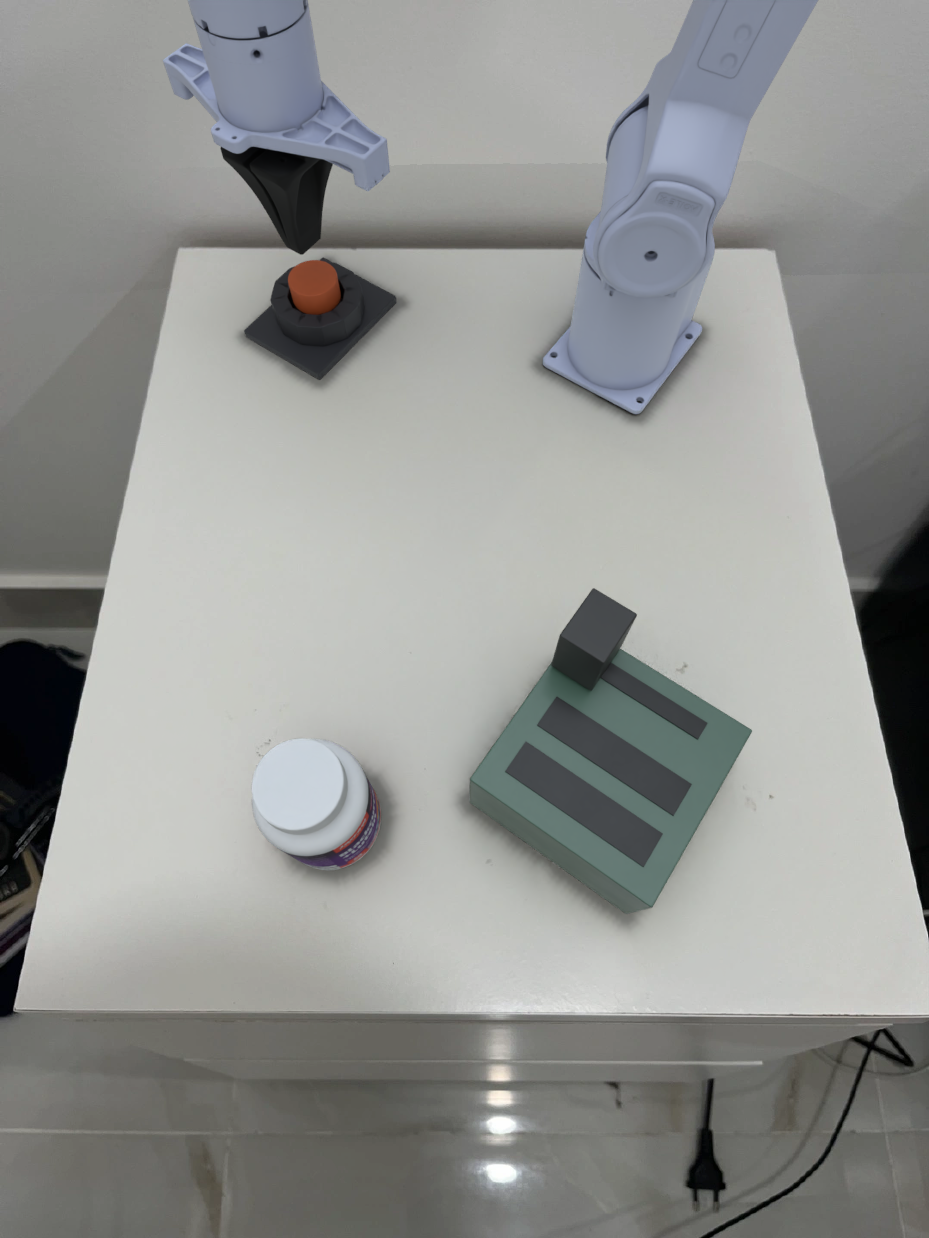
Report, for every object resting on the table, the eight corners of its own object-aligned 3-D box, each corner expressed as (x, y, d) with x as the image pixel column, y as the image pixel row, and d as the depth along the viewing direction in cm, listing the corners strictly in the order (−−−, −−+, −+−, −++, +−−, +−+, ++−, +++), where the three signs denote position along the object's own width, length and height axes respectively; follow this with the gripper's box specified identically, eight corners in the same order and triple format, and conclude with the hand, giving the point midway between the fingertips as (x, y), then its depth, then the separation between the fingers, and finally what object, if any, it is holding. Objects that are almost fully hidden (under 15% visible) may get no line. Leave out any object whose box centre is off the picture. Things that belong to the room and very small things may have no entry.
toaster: (565, 662, 45) (579, 621, 39) (716, 758, 43) (754, 729, 37) (468, 802, 42) (469, 778, 36) (626, 914, 39) (652, 908, 34)
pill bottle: (369, 880, 40) (340, 860, 31) (271, 859, 41) (216, 833, 32) (393, 780, 42) (373, 734, 33) (300, 761, 43) (256, 711, 34)
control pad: (324, 264, 58) (318, 236, 56) (397, 303, 57) (394, 276, 54) (245, 337, 55) (236, 311, 53) (319, 381, 54) (313, 355, 51)
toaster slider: (581, 621, 39) (593, 587, 36) (621, 645, 39) (637, 613, 35) (550, 665, 38) (559, 635, 35) (591, 691, 38) (604, 663, 34)
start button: (313, 273, 55) (309, 252, 53) (350, 293, 54) (347, 273, 53) (283, 301, 54) (277, 282, 52) (320, 322, 53) (315, 303, 51)
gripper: (86, -5, 38) (180, 232, 50) (311, 102, 34) (352, 328, 47) (185, -69, 40) (251, 173, 53) (404, 26, 37) (420, 260, 49)
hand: (303, 242), depth 50 cm, fingers closed
